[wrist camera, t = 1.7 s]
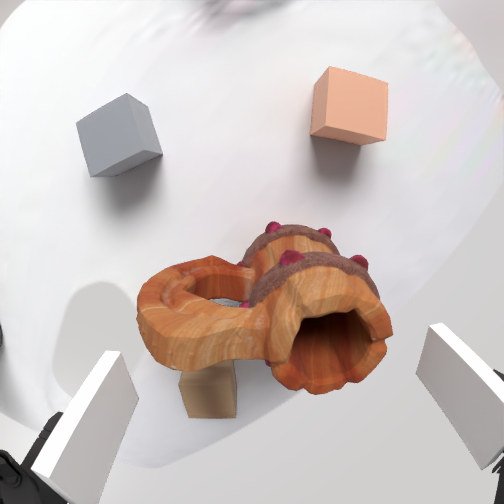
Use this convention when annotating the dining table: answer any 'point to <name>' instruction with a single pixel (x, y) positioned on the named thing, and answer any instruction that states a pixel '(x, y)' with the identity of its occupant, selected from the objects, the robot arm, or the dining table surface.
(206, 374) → the walnut block
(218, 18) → the dining table surface
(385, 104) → the terracotta block
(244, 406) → the dining table surface
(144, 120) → the slate block
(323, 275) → the mug
